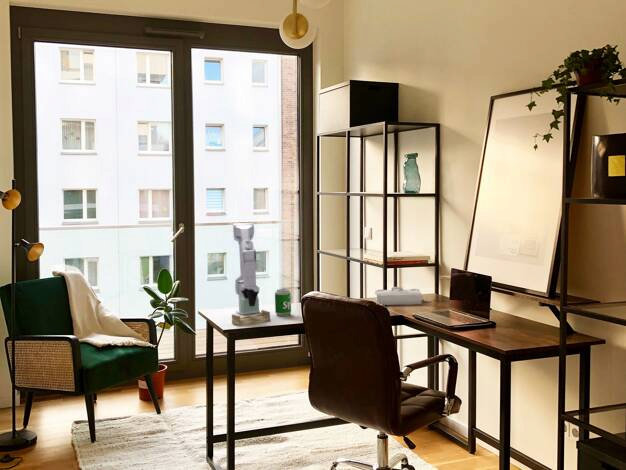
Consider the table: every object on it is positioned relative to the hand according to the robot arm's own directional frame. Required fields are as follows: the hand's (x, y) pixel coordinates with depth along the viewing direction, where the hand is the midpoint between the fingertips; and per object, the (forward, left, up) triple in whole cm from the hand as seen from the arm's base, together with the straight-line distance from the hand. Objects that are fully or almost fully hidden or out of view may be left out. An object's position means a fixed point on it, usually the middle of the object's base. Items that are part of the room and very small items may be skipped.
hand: (250, 305), depth 323 cm
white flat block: (-84, +7, -8) cm, 84 cm away
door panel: (0, 0, -3) cm, 3 cm away
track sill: (0, 0, -8) cm, 8 cm away
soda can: (-20, -5, -8) cm, 22 cm away
